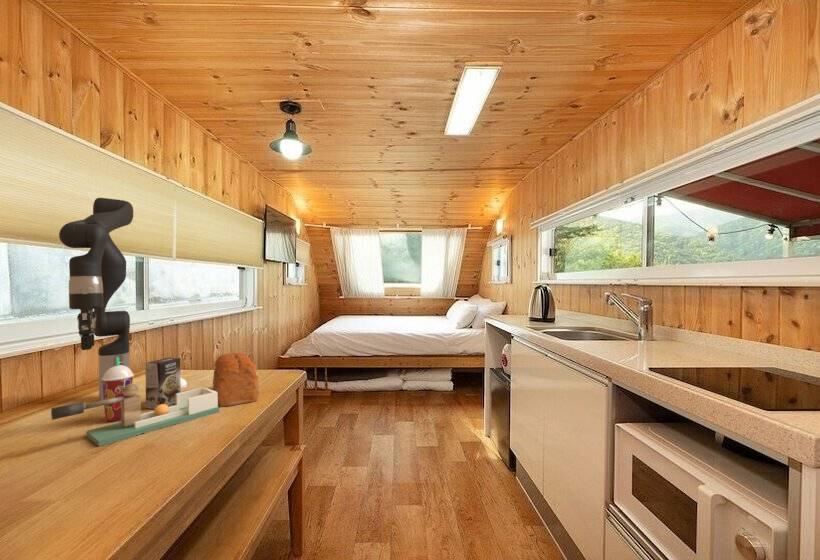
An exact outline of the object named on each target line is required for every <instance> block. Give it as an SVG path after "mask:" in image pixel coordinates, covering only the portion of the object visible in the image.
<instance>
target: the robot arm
mask: <svg viewBox="0 0 820 560" xmlns="http://www.w3.org/2000/svg"><path fill="white" fill-rule="evenodd" d="M133 220H134V207H133V205H132V203H130V201H127V200H124V199H117V198H115V199H114V198H109V197H108V198H106V197H97V198H95V200H94V202H93V205H92V214H91V215H89V216H87V217H85V218H84V219H80V220H75V221H71V222H68V223H66V224H64V225H63V226H61V228H60V230H59V233H58V237H59V240H60V242H61V244H63V245H64V246H66V247H68V248H70V249H71V248H72V249H89V251H88V252H87V253H85V254H81V255H78V256H77V255H76V256H73V257H70V259H69V261H68V264H69V266H68V268H69V270H68V271H69V279H68V306H69V307H68V308H69V309H70V310H80V312H79V313H78V314H77V317H76V319H77V320H76V321H77V330H78V334H79V337H80V349H81V351H88V350H92V348H93V347H94V346H95V336H96V337H111V336H118V337H117V338H116V339H114V340H113V341H111V342H108V343H107V344H104V345H102V346H99V348H98V355H97V356H98V401H103V400H104V399H103V388H102V380H101V379H102V378H103V376H104V374H105V373H106V371H107V370H108V369H110V368H111V367H113V366H116V365H117V357H119V365H123V366H126V367H128V368H130V330H131V318H130V317H131V316H130V314H129V312H128V311H126V310H115V311H114V310H113V311H112V310H111V311H106V309H107V307H108V303H109V301H110V299H112V297H113V295H114V294H115V293H116V292H117V290H118V289H119V288H121V286H122V285H123V283H124V282H125V280H126V278H127V260H126V258H125V256H124V254H123V252H121V250H120V249H119V248H118V246H117V245H116V243H115V242H114V241H113V239H112V237H111V235H110V233H111V232H113V231H115V230H118V229H120V228H122V227H125V226H129V225H130V224H131V223H132V221H133ZM130 369H131V368H130Z"/></svg>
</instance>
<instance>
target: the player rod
mask: <svg viewBox="0 0 820 560" xmlns="http://www.w3.org/2000/svg"><path fill="white" fill-rule="evenodd" d="M138 391H139V387H138V386H137V384H135V383H133V384H129V385H127V386H125V387H124V389H123V393H124V395H125V396H121V397H117V398H112V399H107V400H103V401H99V400H98V401H94V402H90V403H89V402H88V403H85V404H84V402H83V401H80V402H75V403H71V404H66V405H61V406H57V407H52V408H51V410H50V413H51V414H50V416H51V420H52V421H54V420H57V419H58V420H59V419H62V418H68V417H72V416H75V415H80V414H83V413H84V412H85V411H86V410H89V409H94V408H98V407H104V405H108V404H112V403H117V402H121V421H120V422H121V425H122V426H124V427H127V426H131V425H134V422H137V421H141V414H142V404H141V401H142V400H141V398H142V397H141V395H139V394H137V393H138Z"/></svg>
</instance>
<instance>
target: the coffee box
mask: <svg viewBox="0 0 820 560" xmlns="http://www.w3.org/2000/svg"><path fill="white" fill-rule="evenodd" d="M180 377H181V358H179V357H164V358H161V359H157V360H152V361H147V362H145V409H150V410H151V409H152V410H155V408H156V407H157V406H158V405H161V404H165V405H167V406H168V407H171V406H173V405H176V394H177V393H181V392H182V391H181V390H182V389H181V382H180Z"/></svg>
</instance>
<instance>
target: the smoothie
mask: <svg viewBox="0 0 820 560" xmlns="http://www.w3.org/2000/svg"><path fill="white" fill-rule="evenodd" d="M101 380H102V388H103V399H104V400H107V399H112V398H117V397H121V396H125V395H124V393H123V389H124V387H125V386H127V385H129V384H135V381H134V380H135V373H134V372H133V371H132V369H131V368H128V367H126V366H123V365H119V357H117V365H116V366H113V367H111V368H110V369H108V370H107V371H106V373H105V374H104V376H103V378H102V379H101ZM103 407H104V417H105V418H106V419H107V420H106V421H108V422H110V423H111V422H112V423H117V422H121V402H117V403H112V404H108V405H103Z"/></svg>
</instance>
